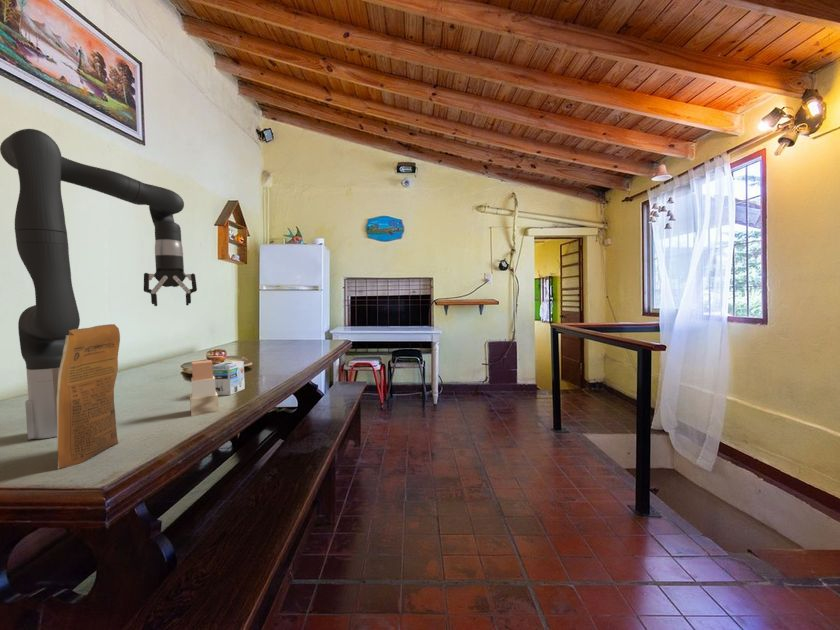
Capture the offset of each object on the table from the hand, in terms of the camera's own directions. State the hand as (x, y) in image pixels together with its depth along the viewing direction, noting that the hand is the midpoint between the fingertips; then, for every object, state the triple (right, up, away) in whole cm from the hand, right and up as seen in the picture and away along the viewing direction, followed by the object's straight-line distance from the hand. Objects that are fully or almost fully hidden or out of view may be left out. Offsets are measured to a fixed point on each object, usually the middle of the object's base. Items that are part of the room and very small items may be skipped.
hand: (172, 305), depth 121 cm
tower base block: (+15, -32, -8) cm, 36 cm away
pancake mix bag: (+8, -34, -39) cm, 52 cm away
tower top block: (+15, -27, -8) cm, 32 cm away
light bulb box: (+10, -32, +16) cm, 37 cm away
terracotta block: (+15, -22, -8) cm, 28 cm away
